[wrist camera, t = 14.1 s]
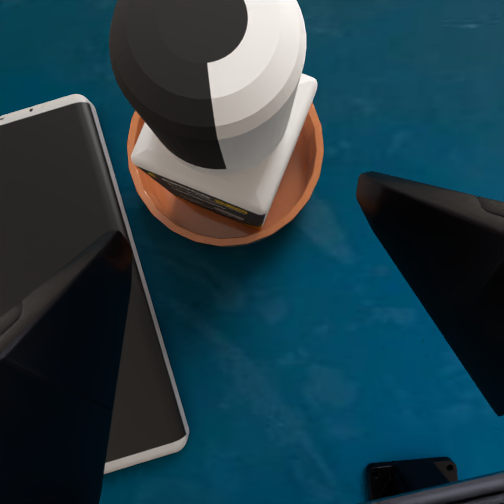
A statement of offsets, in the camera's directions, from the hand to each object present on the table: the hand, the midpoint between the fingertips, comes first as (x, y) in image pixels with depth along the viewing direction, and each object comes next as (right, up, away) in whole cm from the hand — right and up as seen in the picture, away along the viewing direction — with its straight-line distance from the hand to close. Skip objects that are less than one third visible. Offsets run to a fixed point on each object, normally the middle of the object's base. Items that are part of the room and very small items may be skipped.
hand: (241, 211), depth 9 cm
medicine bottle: (-1, +5, +10) cm, 11 cm away
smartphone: (-14, -5, +10) cm, 18 cm away
